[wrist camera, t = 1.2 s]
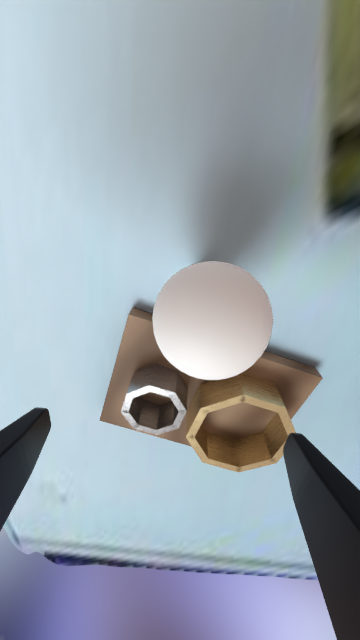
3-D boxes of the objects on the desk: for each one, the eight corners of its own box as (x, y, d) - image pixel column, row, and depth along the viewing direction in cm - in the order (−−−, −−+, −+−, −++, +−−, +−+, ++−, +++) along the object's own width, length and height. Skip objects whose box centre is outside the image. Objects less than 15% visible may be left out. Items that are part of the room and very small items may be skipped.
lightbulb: (173, 316, 22) (156, 412, 12) (161, 246, 19) (126, 290, 9) (243, 309, 21) (288, 403, 11) (241, 235, 18) (296, 269, 8)
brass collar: (300, 391, 22) (314, 416, 20) (256, 450, 26) (263, 479, 23) (210, 362, 22) (212, 385, 19) (178, 428, 25) (176, 455, 23)
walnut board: (315, 367, 23) (322, 377, 22) (253, 452, 28) (256, 464, 27) (132, 307, 21) (128, 314, 20) (104, 409, 27) (99, 420, 25)
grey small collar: (193, 374, 22) (193, 398, 20) (175, 413, 24) (173, 439, 22) (138, 357, 22) (130, 379, 19) (125, 399, 24) (116, 423, 21)
